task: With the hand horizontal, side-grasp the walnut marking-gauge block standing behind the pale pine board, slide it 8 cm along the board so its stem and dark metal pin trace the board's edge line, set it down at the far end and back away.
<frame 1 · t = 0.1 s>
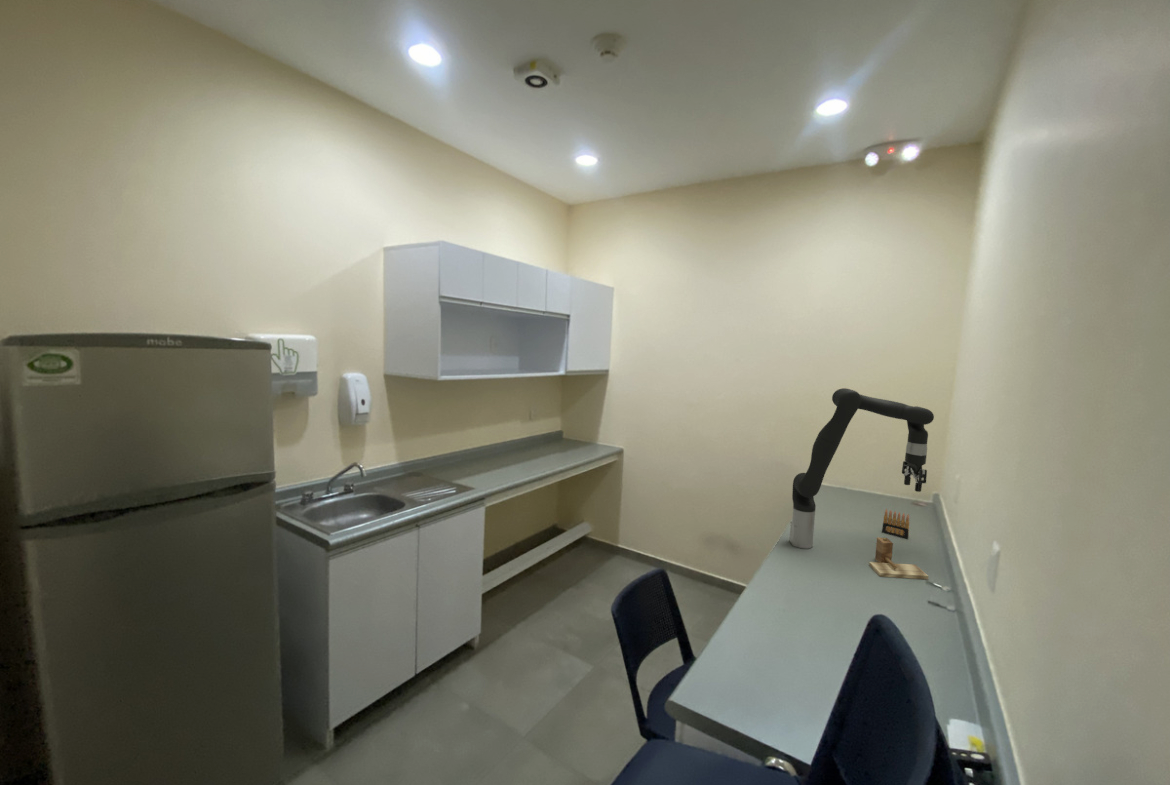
hand: (912, 488, 206), 29 cm above the table, tool pointing down, fingers open, 8 cm apart
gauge: (882, 562, 200), on the table
ammunition clip: (894, 535, 226), on the table
board: (897, 572, 191), on the table
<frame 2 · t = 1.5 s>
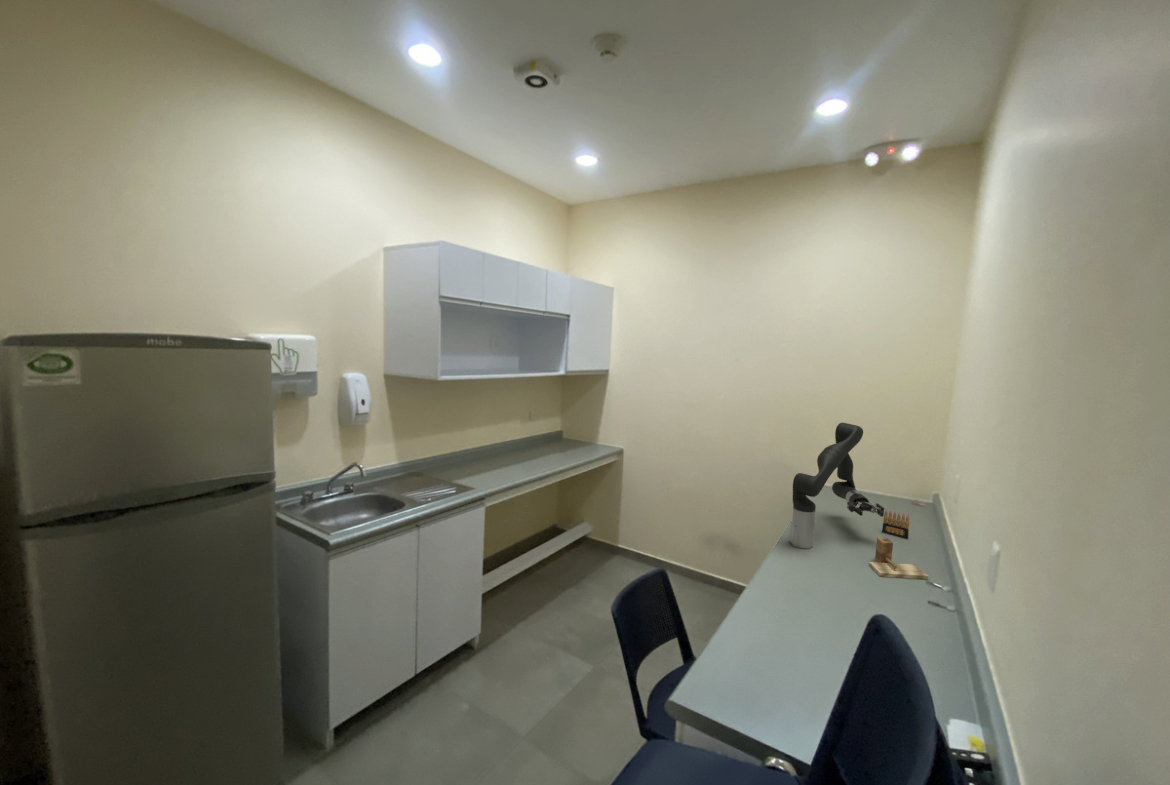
hand: (872, 514, 210), 16 cm above the table, tool horizontal, fingers open, 8 cm apart
nothing on the table moved.
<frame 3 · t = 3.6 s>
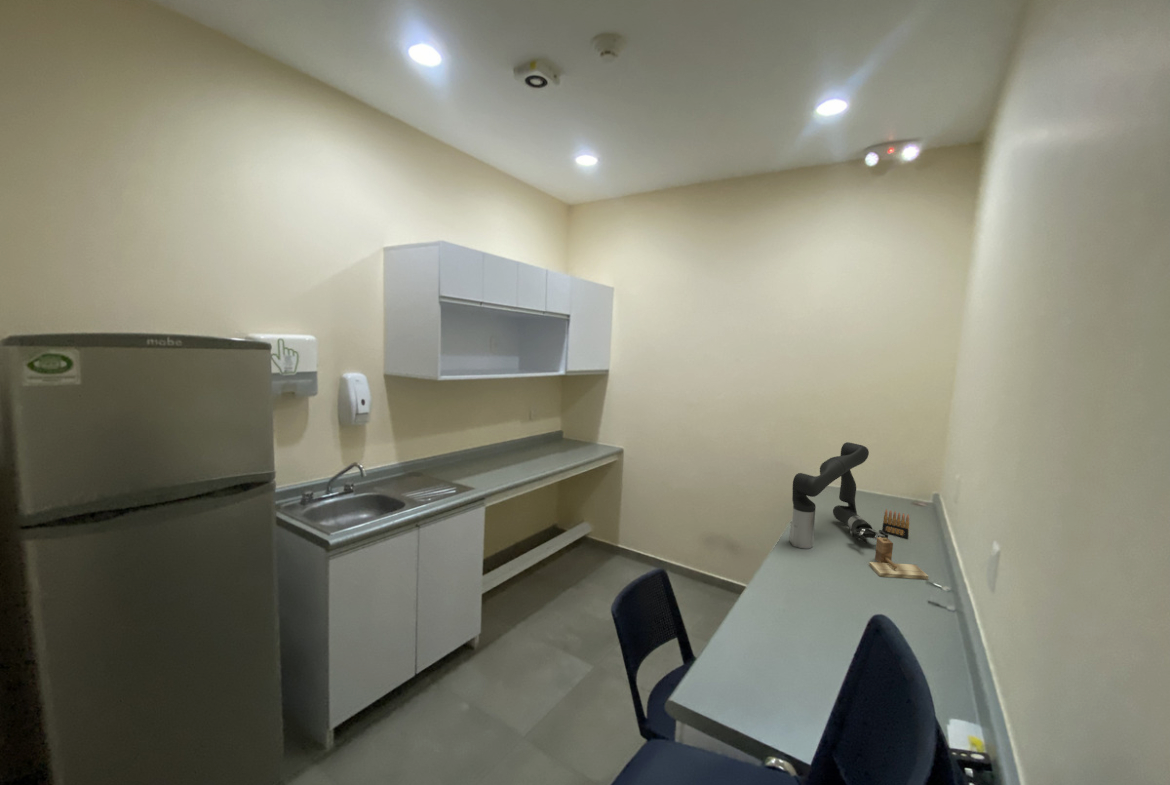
hand: (876, 541, 205), 6 cm above the table, tool horizontal, fingers open, 8 cm apart
nothing on the table moved.
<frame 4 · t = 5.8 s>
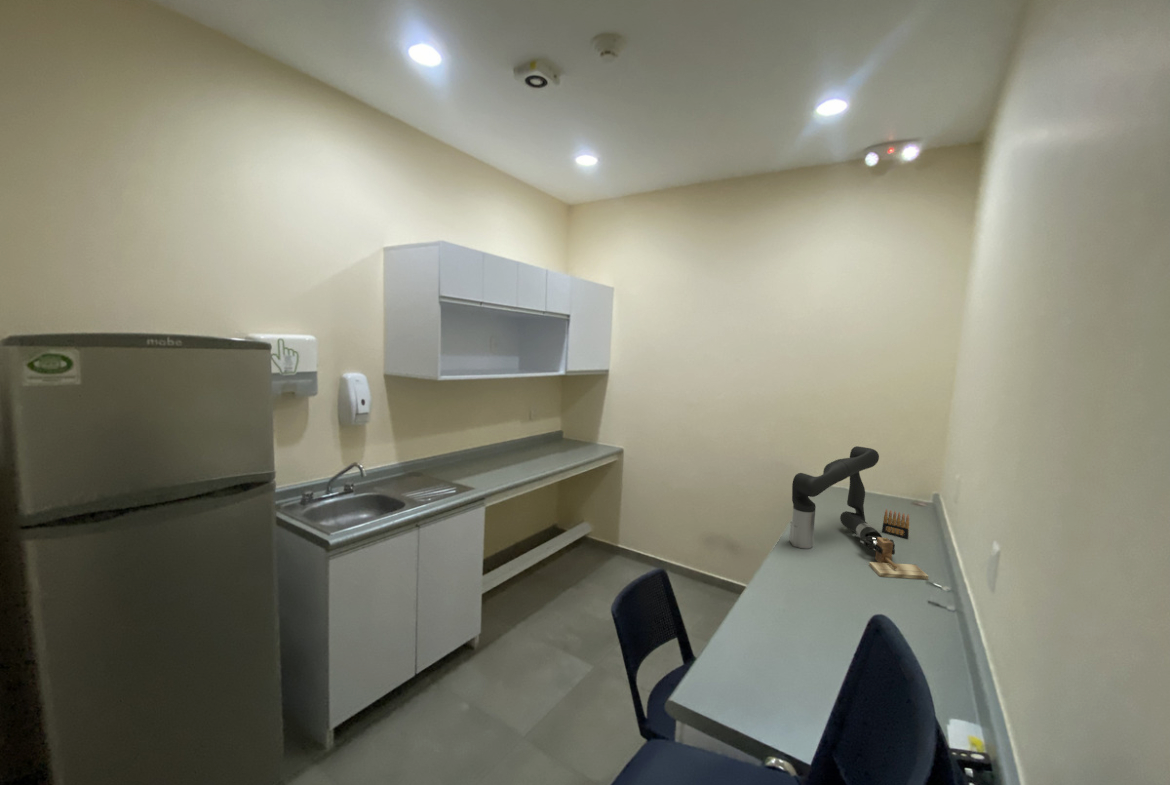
hand: (887, 552, 196), 6 cm above the table, tool horizontal, fingers closed on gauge, 4 cm apart
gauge: (882, 562, 200), on the table, touching gripper
everything else where it was.
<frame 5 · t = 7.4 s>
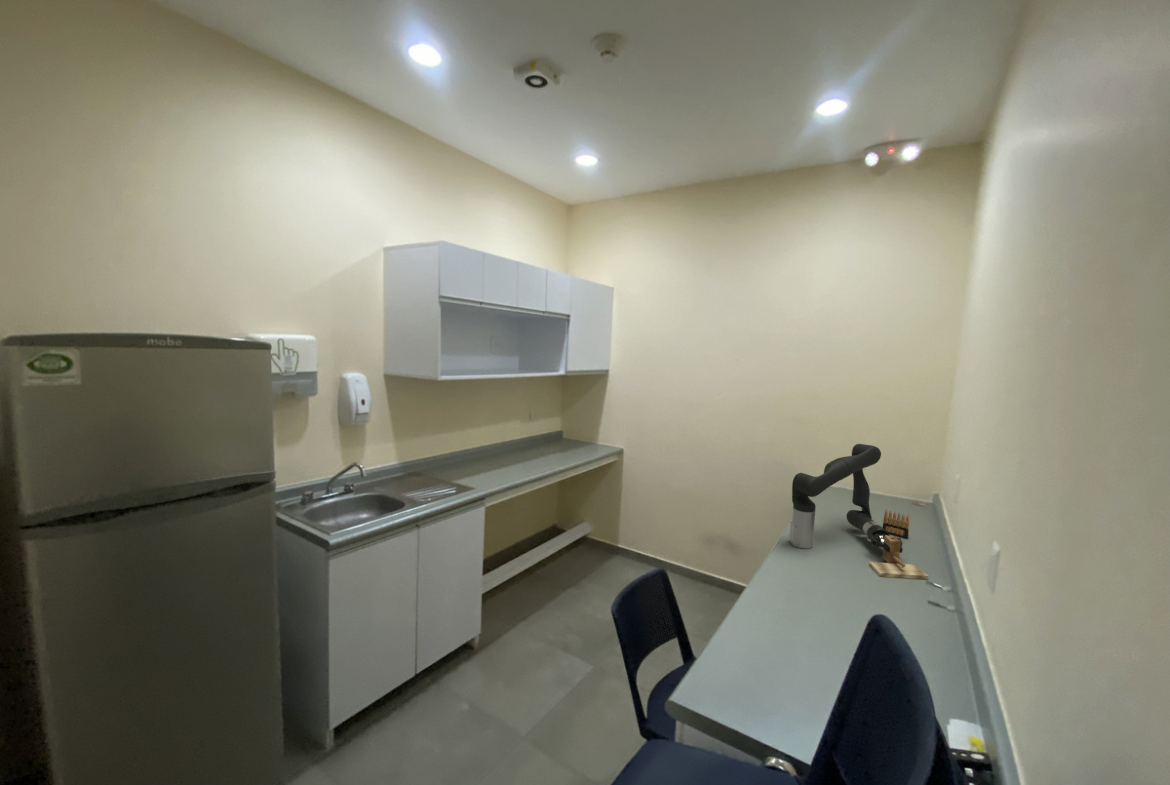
hand: (895, 550, 196), 7 cm above the table, tool horizontal, fingers closed on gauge, 4 cm apart
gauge: (890, 560, 199), point 1 cm above the table, touching gripper
everything else where it was.
when the fingers open (6 cm above the table, at t = 9.2 s): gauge stays where it is, on the table.
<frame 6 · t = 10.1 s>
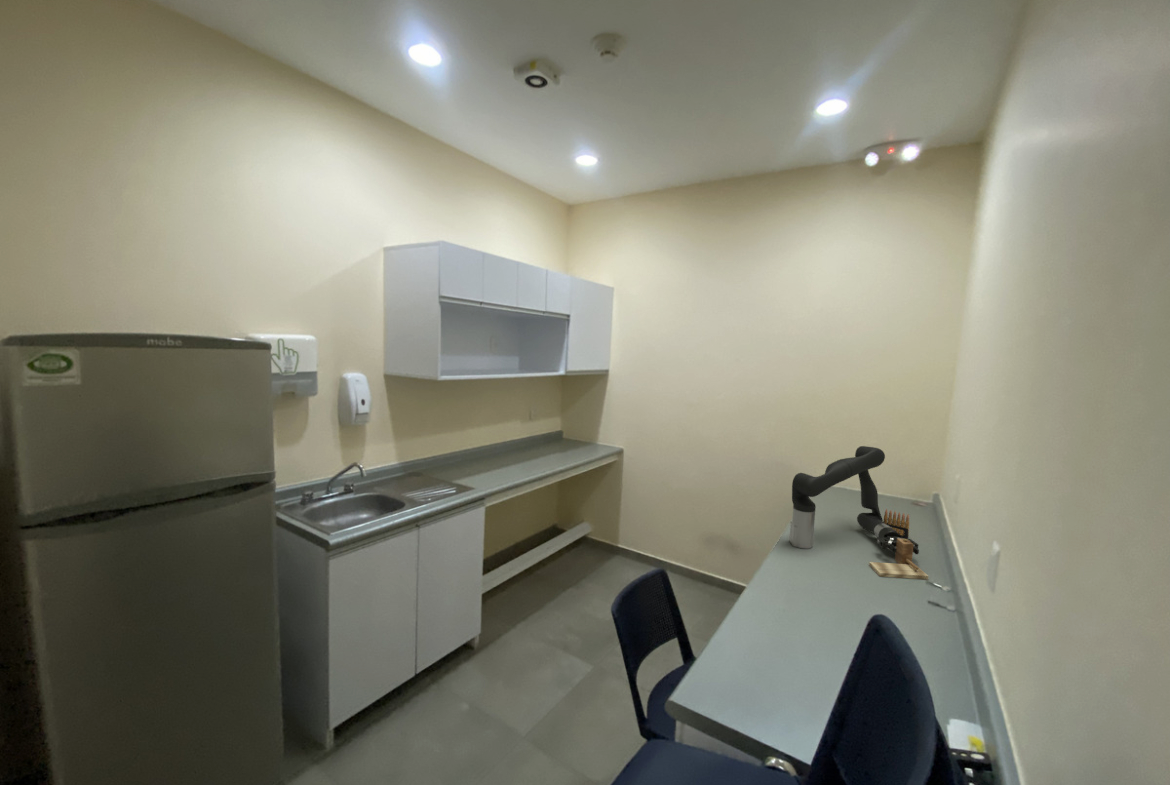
hand: (906, 551, 196), 6 cm above the table, tool horizontal, fingers open, 8 cm apart
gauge: (902, 563, 199), on the table
everything else where it was.
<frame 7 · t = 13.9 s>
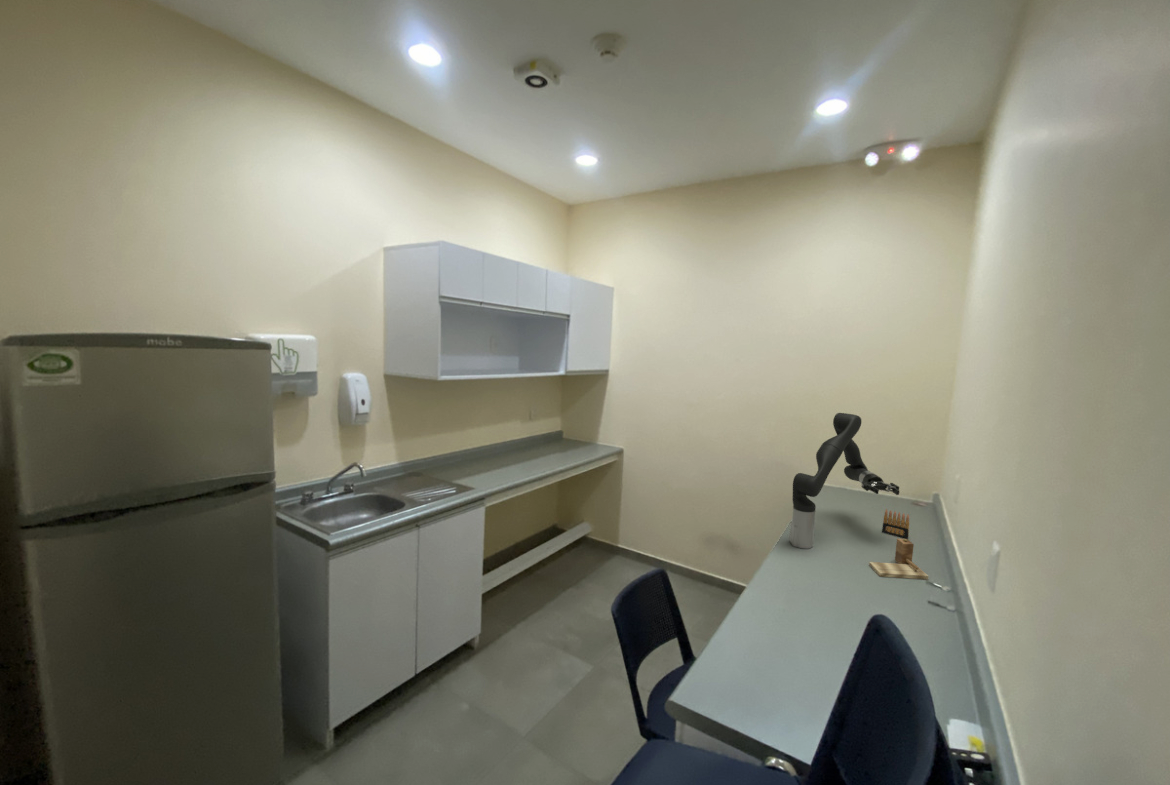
hand: (887, 492, 210), 26 cm above the table, tool horizontal, fingers open, 8 cm apart
nothing on the table moved.
at the end: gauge inside the target area (0.5 cm from its centre), on the table; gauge tilted 0°; the gripper is holding nothing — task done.
